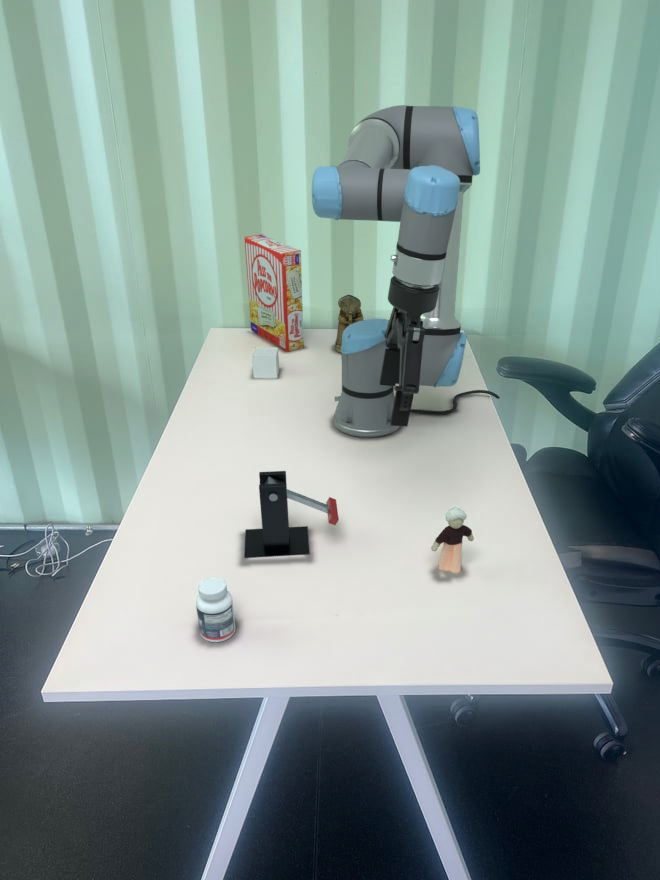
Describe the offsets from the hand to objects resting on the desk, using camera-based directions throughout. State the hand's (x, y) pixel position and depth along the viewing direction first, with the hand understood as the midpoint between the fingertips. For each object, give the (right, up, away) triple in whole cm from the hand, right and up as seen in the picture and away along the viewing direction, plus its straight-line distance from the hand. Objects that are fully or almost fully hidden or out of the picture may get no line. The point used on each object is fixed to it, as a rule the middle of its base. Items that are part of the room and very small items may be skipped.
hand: (392, 404), depth 126 cm
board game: (-32, +32, +92) cm, 102 cm away
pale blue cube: (-32, +18, +71) cm, 79 cm away
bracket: (-20, -24, +6) cm, 32 cm away
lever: (-16, -17, +2) cm, 23 cm away
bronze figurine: (-11, +27, +85) cm, 90 cm away
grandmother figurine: (+10, -28, +1) cm, 30 cm away
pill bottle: (-26, -36, -13) cm, 46 cm away
